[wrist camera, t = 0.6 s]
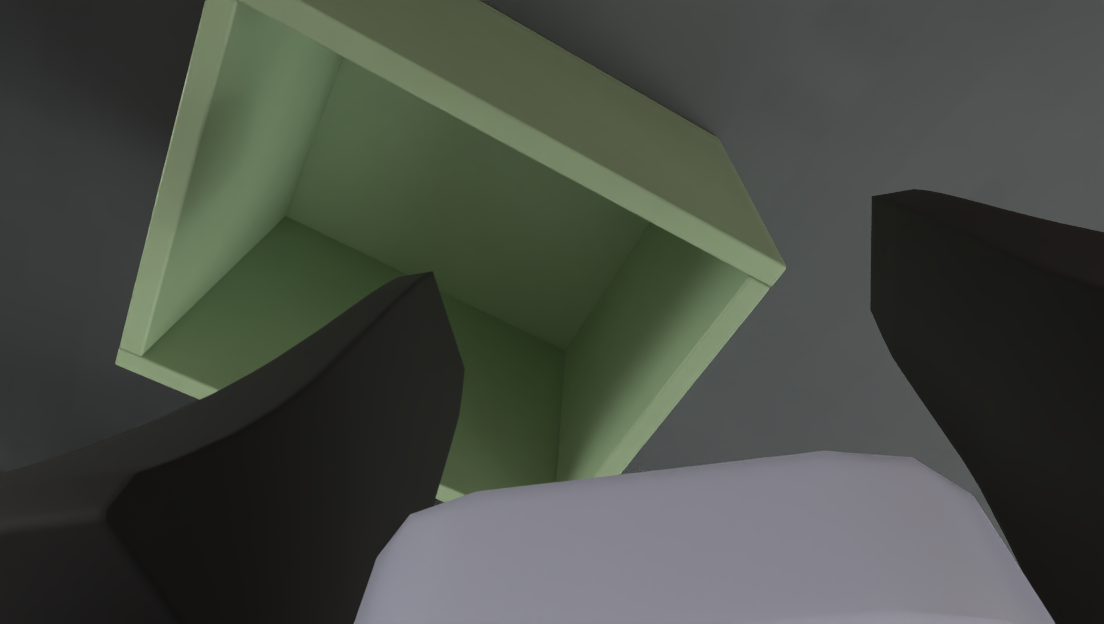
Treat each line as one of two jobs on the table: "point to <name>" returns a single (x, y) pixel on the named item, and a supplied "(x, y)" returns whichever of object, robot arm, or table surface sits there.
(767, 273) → the bin
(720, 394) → the table surface
